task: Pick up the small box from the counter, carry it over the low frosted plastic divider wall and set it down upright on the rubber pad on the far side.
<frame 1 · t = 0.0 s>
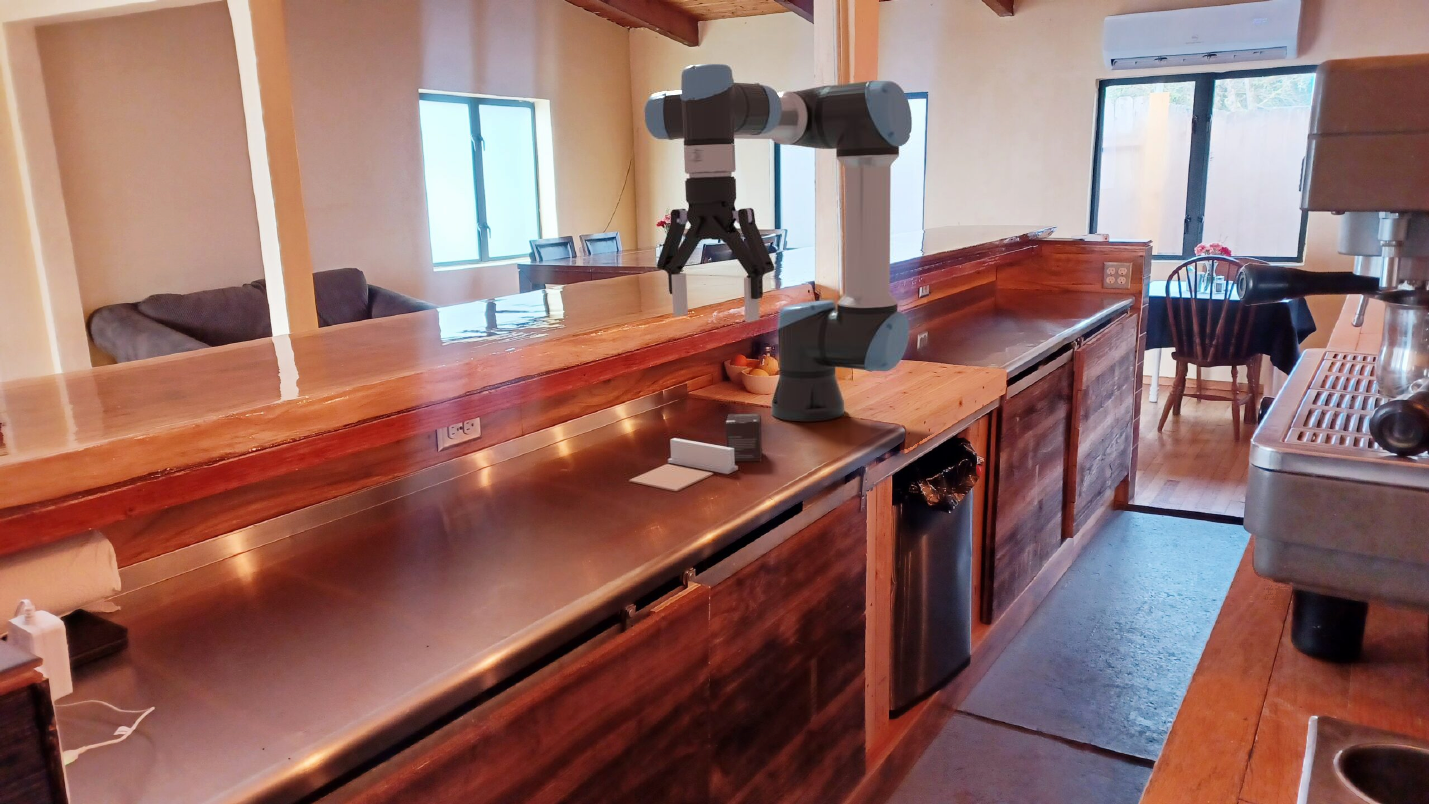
hand: (715, 318, 145), 28 cm above the countertop, fingers open, 13 cm apart
box: (744, 458, 169), on the countertop
divider wall: (702, 465, 165), on the countertop
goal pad: (671, 478, 159), on the countertop
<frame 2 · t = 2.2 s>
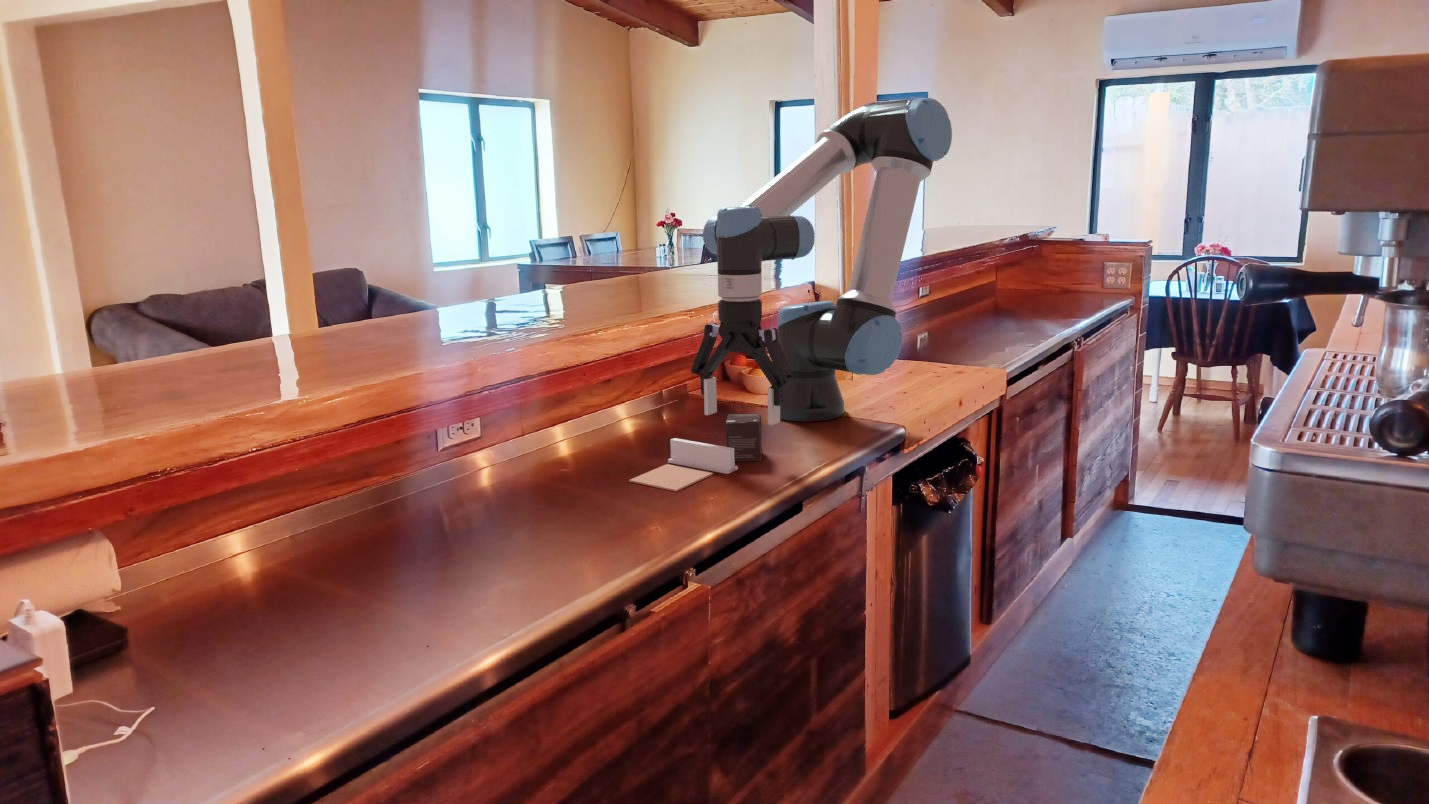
hand: (741, 418, 167), 7 cm above the countertop, fingers open, 13 cm apart
nothing on the countertop moved.
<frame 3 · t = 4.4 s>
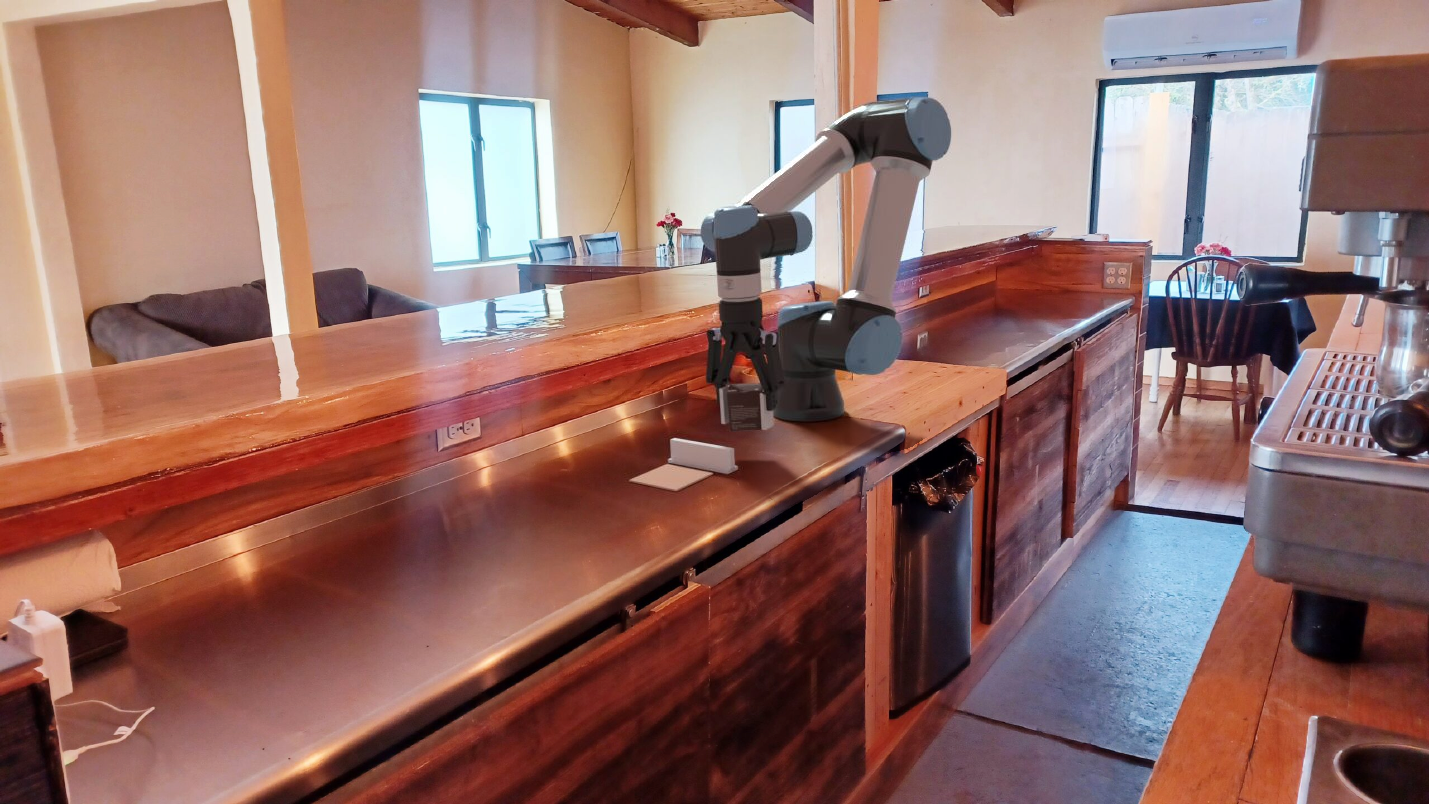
hand: (747, 424, 168), 6 cm above the countertop, fingers closed on box, 8 cm apart
box: (747, 427, 168), point 5 cm above the countertop, touching gripper
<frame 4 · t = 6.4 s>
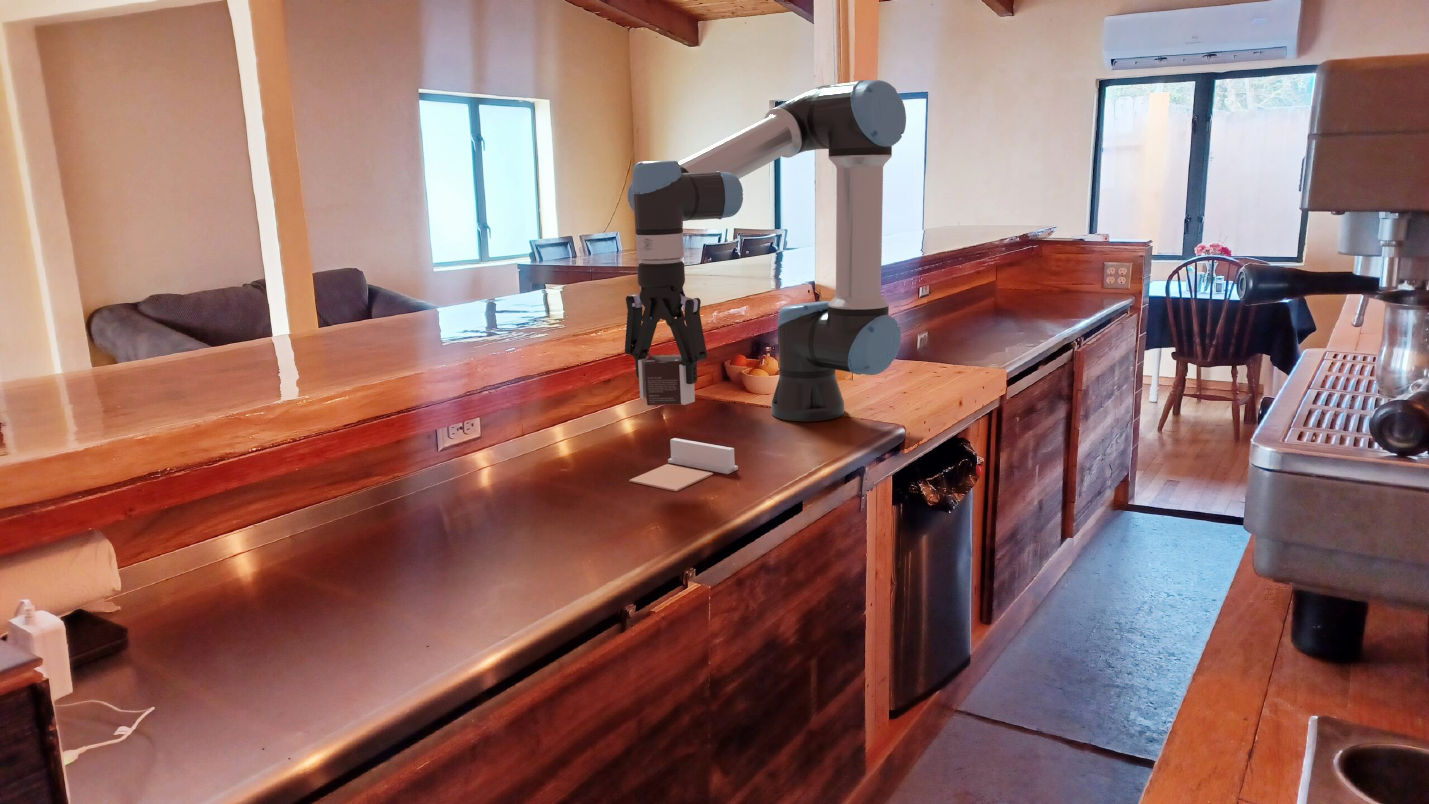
hand: (667, 399, 155), 14 cm above the countertop, fingers closed on box, 8 cm apart
box: (667, 402, 156), point 13 cm above the countertop, touching gripper
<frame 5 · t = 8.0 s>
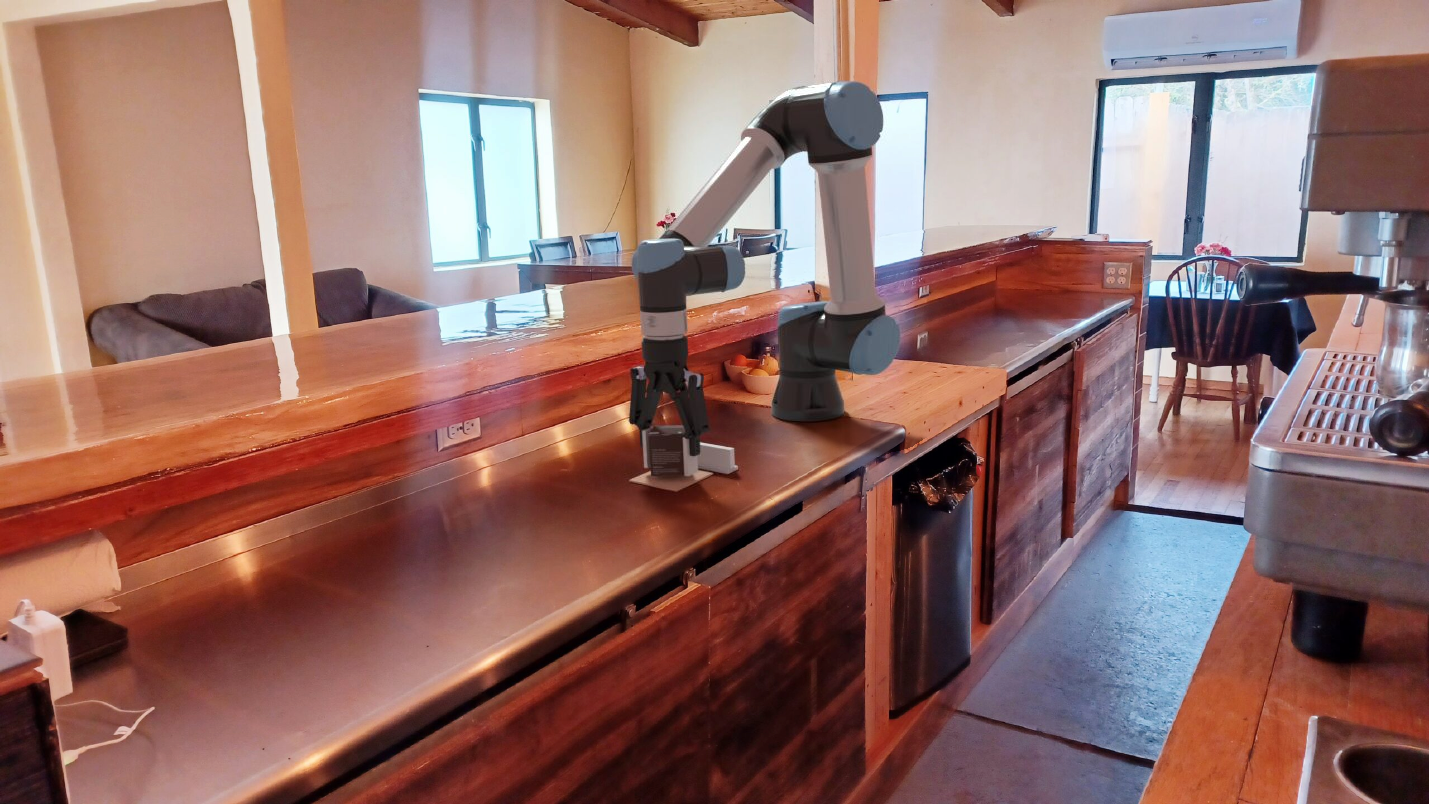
hand: (670, 469, 158), 1 cm above the countertop, fingers closed on box, 8 cm apart
box: (670, 472, 158), point 1 cm above the countertop, touching gripper
when the fingers open (1 cm above the countertop, at t = 8.6 s): box stays where it is, resting on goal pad.
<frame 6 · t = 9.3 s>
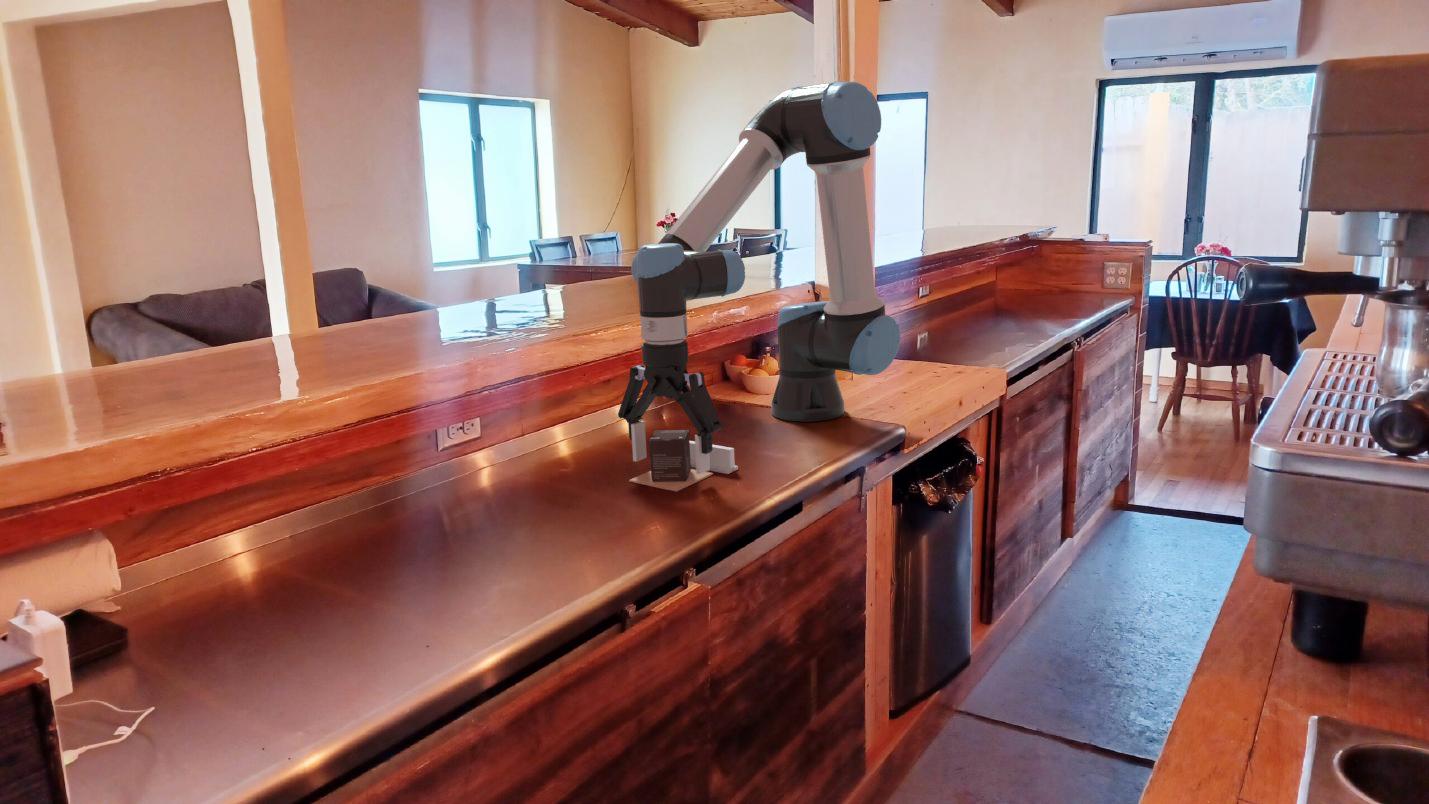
hand: (670, 465, 158), 2 cm above the countertop, fingers open, 13 cm apart
box: (671, 477, 159), resting on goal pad
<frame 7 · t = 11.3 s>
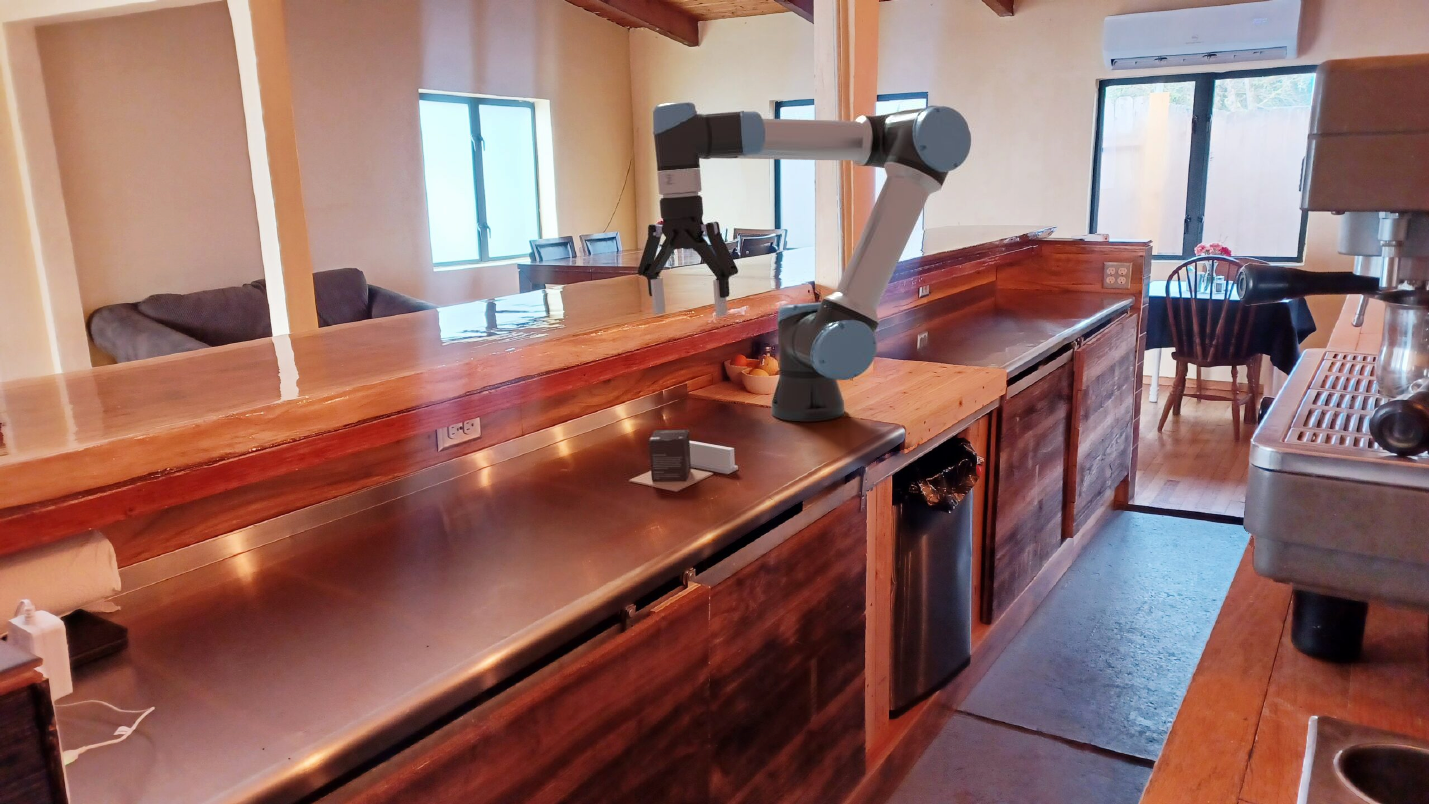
hand: (690, 315, 171), 25 cm above the countertop, fingers open, 13 cm apart
nothing on the countertop moved.
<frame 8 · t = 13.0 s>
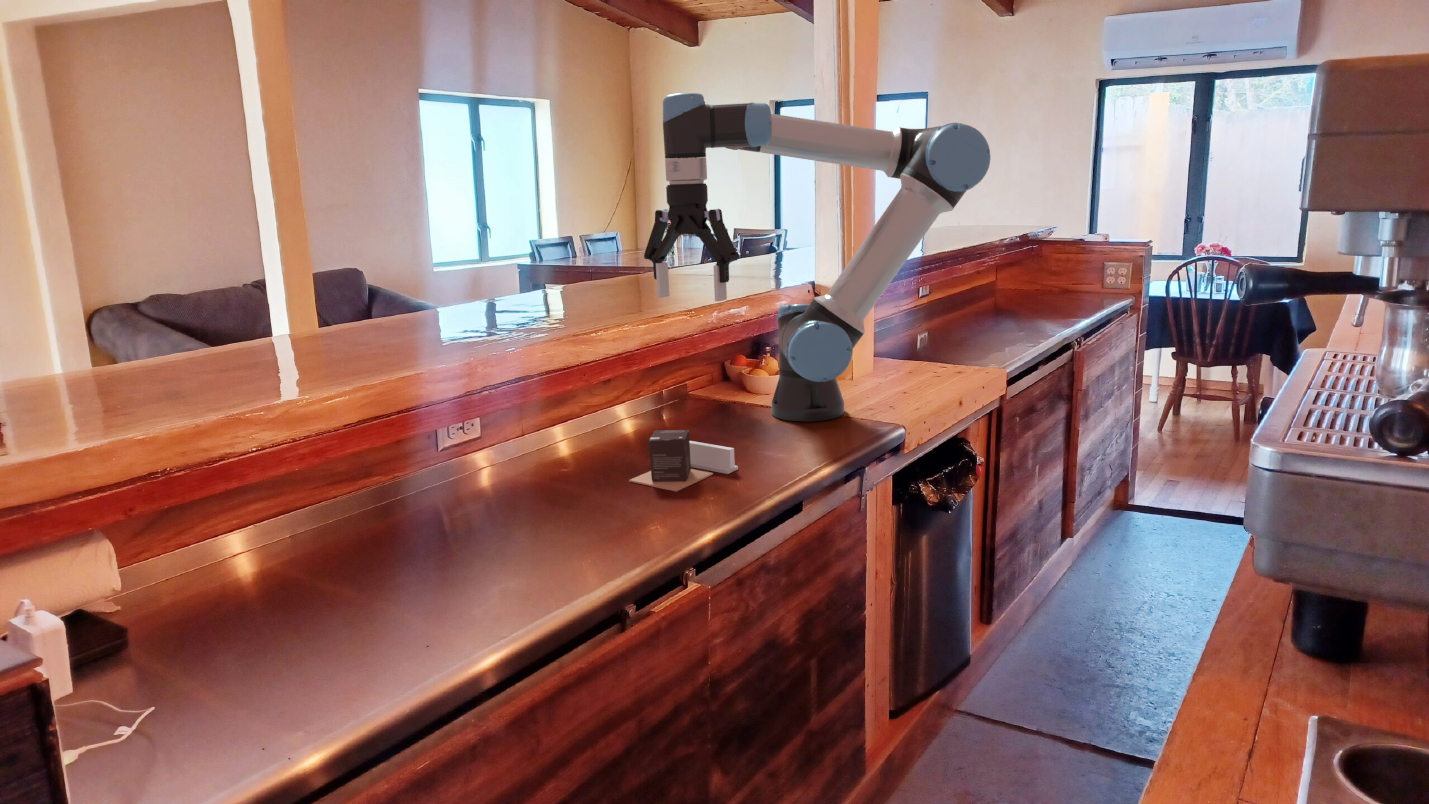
hand: (691, 298, 177), 27 cm above the countertop, fingers open, 13 cm apart
nothing on the countertop moved.
at the end: box inside the target area on the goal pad (0.0 cm from its centre), point 0.1 cm above the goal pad's base; box tilted 0°; the gripper is holding nothing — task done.
